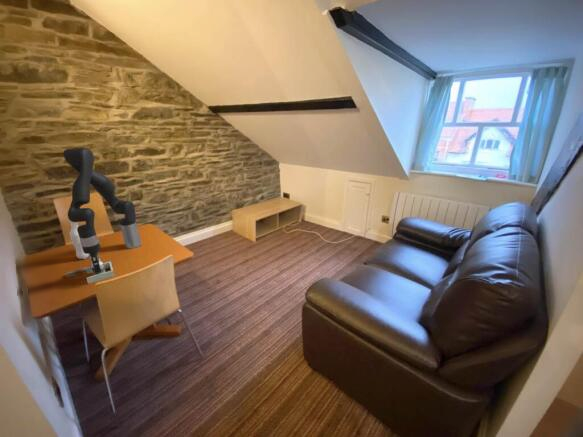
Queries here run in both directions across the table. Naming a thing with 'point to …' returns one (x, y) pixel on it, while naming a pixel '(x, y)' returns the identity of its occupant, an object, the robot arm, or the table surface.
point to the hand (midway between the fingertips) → (98, 268)
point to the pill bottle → (100, 268)
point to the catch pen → (100, 276)
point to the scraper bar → (76, 272)
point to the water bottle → (77, 241)
